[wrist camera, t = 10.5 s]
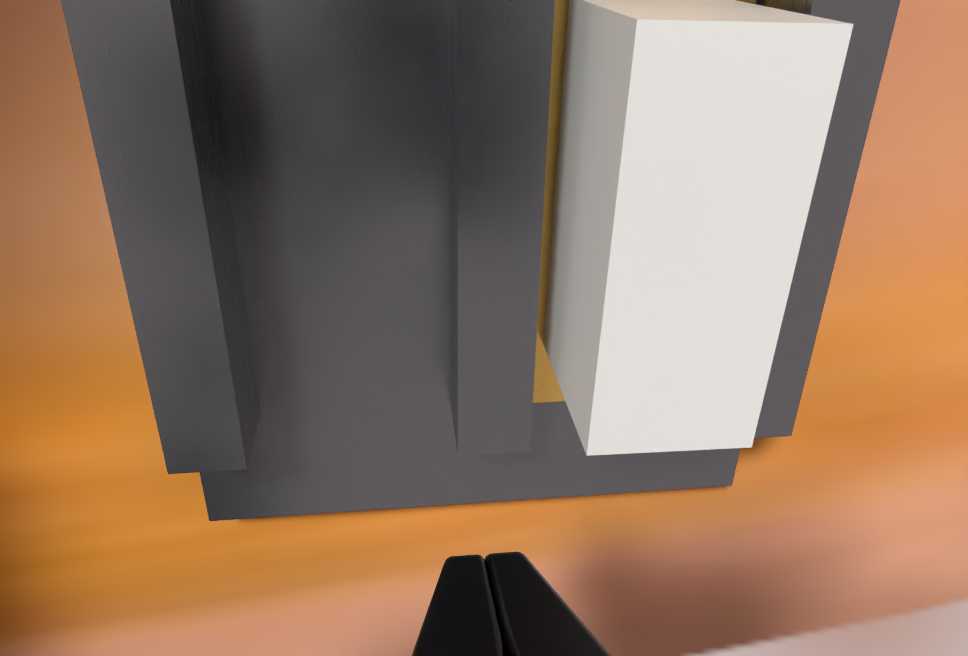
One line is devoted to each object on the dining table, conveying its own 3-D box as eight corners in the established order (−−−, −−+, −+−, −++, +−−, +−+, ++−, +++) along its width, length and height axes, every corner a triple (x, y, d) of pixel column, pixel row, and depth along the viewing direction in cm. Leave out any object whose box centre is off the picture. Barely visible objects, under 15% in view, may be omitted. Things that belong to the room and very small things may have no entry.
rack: (716, 461, 20) (766, 540, 18) (217, 493, 19) (190, 585, 16) (866, -294, 13) (991, -352, 10) (59, -338, 11) (-38, -419, 9)
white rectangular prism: (674, 339, 17) (751, 447, 13) (542, 343, 17) (586, 455, 13) (732, -1, 14) (853, 23, 10) (569, -5, 13) (636, 18, 10)
